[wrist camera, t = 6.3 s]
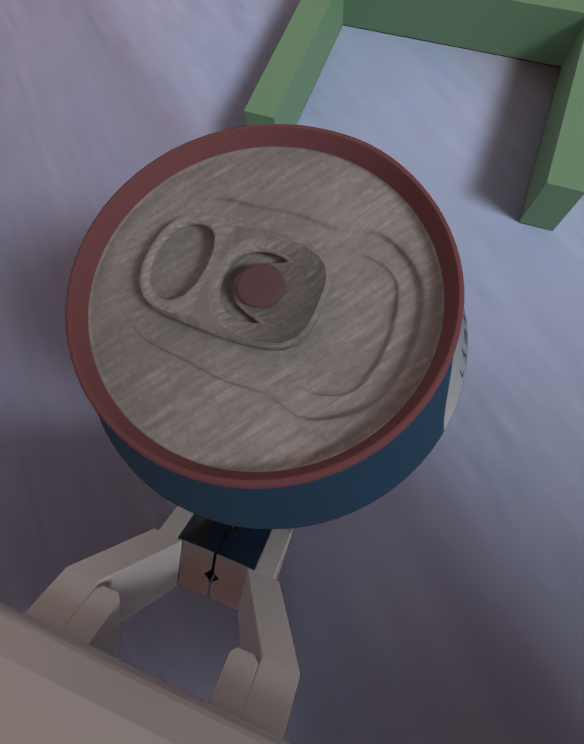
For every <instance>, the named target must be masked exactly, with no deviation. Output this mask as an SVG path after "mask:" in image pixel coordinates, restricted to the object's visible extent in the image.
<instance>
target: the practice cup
mask: <svg viewBox="0 0 584 744" xmlns="http://www.w3.org/2000/svg"><path fill="white" fill-rule="evenodd" d="M342 25H348V26H353V27H358V28H364V29H369V30H374V31H379V32H384V33H389V34H395V35H400V36H405V37H410V38H415V39H420V40H426V41H431V42H436V43H441V44H446V45H451V46H457V47H462V48H467V49H472V50H477V51H482V52H488V53H493V54H498V55H503V56H508V57H514V58H519V59H524V60H529V61H534V62H539V63H545V64H550V65H555V66H560V67H561V70H560V74H559V77H558V81H557V85H556V88H555V92H554V96H553V99H552V103H551V107H550V110H549V114H548V118H547V122H546V125H545V129H544V133H543V136H542V140H541V144H540V147H539V151H538V155H537V158H536V162H535V166H534V170H533V173H532V177H531V181H530V184H529V188H528V192H527V195H526V199H525V203H524V207H523V210H522V214H521V218H520V221H519V222H521V223H525V224H529V225H533V226H537V227H541V228H545V229H549V230H552V231H553V230H554V229H555V227H556V226H557V225H558V224H559V223H560V222H561V220H562V219H563V218H564V217H565V216H566V215H567V213H568V212H569V211H570V210H571V209H572V208H573V206H574V205H575V204H576V203H577V202H578V201H579V199H580V198H581V197H582V196H583V195H584V0H300V2H299V4H298V6H297V8H296V10H295V12H294V14H293V16H292V18H291V20H290V22H289V24H288V26H287V28H286V30H285V31H284V33H283V35H282V37H281V39H280V41H279V43H278V45H277V47H276V49H275V51H274V53H273V55H272V57H271V59H270V61H269V63H268V65H267V66H266V68H265V70H264V72H263V74H262V76H261V78H260V80H259V82H258V84H257V86H256V88H255V90H254V92H253V94H252V96H251V98H250V100H249V102H248V103H247V105H246V107H245V109H244V114H245V119H246V124H247V126H250V125H261V124H292V125H296V124H297V122H298V119H299V117H300V115H301V113H302V111H303V109H304V107H305V104H306V102H307V100H308V98H309V96H310V94H311V92H312V89H313V87H314V85H315V83H316V81H317V79H318V77H319V74H320V72H321V70H322V68H323V66H324V64H325V62H326V59H327V57H328V55H329V53H330V51H331V49H332V47H333V44H334V42H335V40H336V38H337V36H338V34H339V32H340V29H341V27H342Z"/></svg>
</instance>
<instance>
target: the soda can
mask: <svg viewBox="0 0 584 744" xmlns="http://www.w3.org/2000/svg"><path fill="white" fill-rule="evenodd" d="M66 332H67V340H68V346H69V350H70V355H71V359H72V362H73V365H74V369H75V372H76V374H77V377H78V379H79V381H80V384H81V386H82V388H83V390H84V392H85V394H86V396H87V397H88V399H89V401H90V402H91V404H92V405H93V407H94V408H95V410H96V411H97V413H98V415H99V417H100V420H101V422H102V424H103V427H104V429H105V431H106V433H107V435H108V437H109V438H110V440H111V442H112V444H113V445H114V447H115V448H116V450H117V451H118V453H119V454H120V455H121V457H122V458H123V459H124V461H125V462H126V463H127V464H128V466H129V467H130V468H131V469H132V470H133V471H134V472H135V473H136V474H137V475H138V476H139V477H140V478H141V479H142V480H143V481H144V482H145V483H146V484H147V485H149V486H150V487H151V488H152V489H154V490H155V491H156V492H158V493H159V494H160V495H162V496H163V497H164V498H166V499H168V500H169V501H171V502H172V503H174V504H176V505H178V506H180V507H181V508H183V509H185V510H187V511H189V512H192V513H194V514H196V515H199V516H201V517H204V518H207V519H210V520H213V521H216V522H220V523H224V524H228V525H233V526H238V527H245V528H253V529H289V528H297V527H305V526H309V525H314V524H319V523H323V522H326V521H330V520H333V519H336V518H339V517H342V516H344V515H347V514H349V513H352V512H354V511H356V510H358V509H360V508H362V507H364V506H366V505H368V504H370V503H372V502H373V501H375V500H377V499H378V498H380V497H382V496H383V495H385V494H386V493H388V492H389V491H390V490H392V489H393V488H394V487H396V486H397V485H398V484H399V483H401V482H402V481H403V480H404V479H405V478H406V477H408V476H409V475H410V474H411V473H412V472H413V471H414V470H415V469H416V468H417V467H418V466H419V465H420V464H421V463H422V461H423V460H424V459H425V458H426V456H427V455H428V454H429V453H430V452H431V450H432V449H433V447H434V446H435V445H436V443H437V442H438V440H439V439H440V437H441V436H442V434H443V432H444V430H445V429H446V427H447V425H448V423H449V421H450V419H451V417H452V414H453V412H454V410H455V408H456V405H457V402H458V399H459V396H460V393H461V389H462V385H463V382H464V377H465V371H466V365H467V353H468V334H467V323H466V316H465V311H464V281H463V272H462V266H461V261H460V257H459V253H458V250H457V246H456V243H455V241H454V238H453V235H452V233H451V230H450V228H449V226H448V224H447V222H446V220H445V218H444V216H443V214H442V213H441V211H440V209H439V208H438V206H437V205H436V203H435V202H434V200H433V199H432V197H431V196H430V195H429V193H428V192H427V191H426V190H425V189H424V187H423V186H422V185H421V184H420V183H419V182H418V181H417V180H416V178H415V177H414V176H413V175H412V174H411V173H410V172H408V171H407V170H406V169H405V168H404V167H403V166H402V165H401V164H399V163H398V162H397V161H396V160H394V159H393V158H392V157H390V156H389V155H387V154H386V153H384V152H383V151H381V150H379V149H377V148H376V147H374V146H372V145H370V144H368V143H366V142H363V141H361V140H359V139H356V138H353V137H351V136H348V135H345V134H341V133H338V132H334V131H330V130H326V129H321V128H316V127H309V126H302V125H292V124H261V125H250V126H243V127H237V128H232V129H227V130H222V131H219V132H215V133H212V134H208V135H206V136H203V137H200V138H197V139H194V140H192V141H190V142H187V143H185V144H183V145H181V146H179V147H177V148H175V149H173V150H171V151H169V152H167V153H165V154H164V155H162V156H160V157H159V158H157V159H156V160H154V161H153V162H151V163H150V164H148V165H147V166H145V167H144V168H143V169H141V170H140V171H139V172H137V173H136V174H135V175H134V176H133V177H132V178H130V179H129V180H128V181H127V182H126V183H125V184H124V185H123V186H122V187H121V188H120V189H119V190H118V191H117V192H116V193H115V194H114V195H113V196H112V198H111V199H110V200H109V201H108V202H107V203H106V205H105V206H104V207H103V209H102V210H101V211H100V213H99V214H98V216H97V217H96V219H95V220H94V222H93V223H92V225H91V227H90V228H89V230H88V232H87V234H86V235H85V237H84V240H83V242H82V244H81V246H80V248H79V251H78V253H77V256H76V259H75V261H74V265H73V268H72V271H71V275H70V280H69V285H68V290H67V298H66Z"/></svg>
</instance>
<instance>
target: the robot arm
mask: <svg viewBox="0 0 584 744" xmlns="http://www.w3.org/2000/svg"><path fill="white" fill-rule="evenodd" d="M293 529H294V528H289V529H253V528H245V527H238V526H233V525H228V524H224V523H220V522H216V521H213V520H210V519H207V518H204V517H201V516H199V515H196V514H194V513H192V512H189V511H187V510H185V509H183V508H181V507H180V506H178V505H177V506H176V508H175V509H174V510H173V512H172V513H171V514H170V516H169V517H168V518H167V520H166V521H165V522H164V524H163V525H162V526H161V528H160V529H159V530H157V529H151V530H149V531H147V532H145V533H142V534H140V535H138V536H136V537H133V538H131V539H129V540H126V541H124V542H122V543H120V544H117V545H115V546H113V547H111V548H108V549H106V550H104V551H101V552H99V553H97V554H95V555H92V556H90V557H88V558H86V559H83V560H81V561H79V562H76V563H74V564H72V565H70V566H67V567H66V568H65V569H64V570H63V571H62V572H61V574H60V575H59V576H58V577H57V578H56V579H55V580H54V581H53V582H52V583H51V585H50V586H49V587H48V588H47V589H46V590H45V591H44V592H43V593H42V594H41V596H40V597H39V598H38V599H37V600H36V601H35V602H34V603H33V604H32V605H31V606H30V608H29V609H28V610H27V611H26V612H25V613H23V612H21V611H19V610H17V609H15V608H13V607H11V606H9V605H7V604H5V603H3V602H1V601H0V744H292V743H290V742H288V741H286V740H284V735H285V731H286V727H287V724H288V720H289V716H290V712H291V708H292V704H293V701H294V697H295V693H296V689H297V685H298V681H299V677H300V671H299V667H298V662H297V658H296V653H295V649H294V644H293V640H292V636H291V631H290V627H289V622H288V618H287V613H286V609H285V605H284V600H283V596H282V591H281V587H280V582H279V581H277V579H278V576H279V573H280V570H281V567H282V564H283V561H284V558H285V555H286V552H287V549H288V545H289V542H290V539H291V536H292V533H293ZM177 585H180V586H182V587H185V588H187V589H190V590H192V591H195V592H197V593H200V594H202V595H204V596H207V594H208V592H209V591H210V597H209V598H211V599H213V600H215V601H217V602H220V603H222V604H224V605H226V606H228V607H230V608H232V609H234V610H236V611H238V612H237V615H238V626H239V637H240V648H241V649H240V648H238V647H237V648H235V649H233V650H231V651H230V653H229V655H228V658H227V660H226V662H225V665H224V667H223V669H222V672H221V674H220V676H219V678H218V681H217V683H216V685H215V688H214V690H213V692H212V695H211V697H210V699H209V702H206V701H204V700H202V699H200V698H198V697H196V696H194V695H192V694H190V693H188V692H186V691H184V690H182V689H180V688H177V687H175V686H173V685H171V684H169V683H167V682H165V681H163V680H161V679H159V678H157V677H155V676H153V675H151V674H149V673H147V672H145V671H143V670H141V669H138V668H136V667H134V666H132V665H130V664H128V663H126V662H124V661H122V660H120V659H118V658H117V657H118V656H119V654H120V624H121V623H122V622H124V621H125V620H127V619H128V618H130V617H131V616H133V615H134V614H136V613H137V612H139V611H140V610H142V609H143V608H145V607H147V606H148V605H150V604H151V603H153V602H154V601H156V600H157V599H159V598H160V597H162V596H163V595H165V594H166V593H168V592H169V591H171V590H172V589H174V588H175V587H177ZM210 589H211V590H210Z"/></svg>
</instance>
